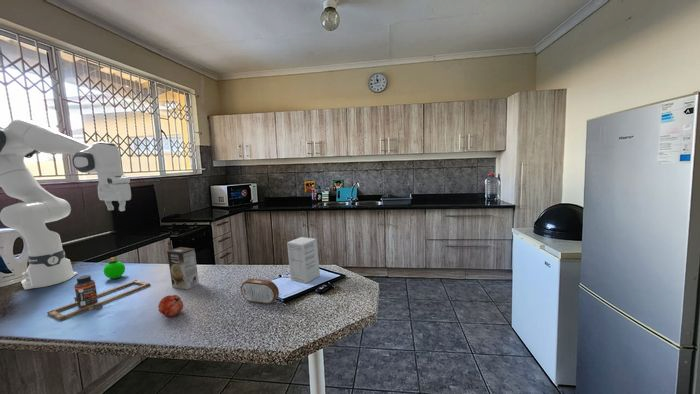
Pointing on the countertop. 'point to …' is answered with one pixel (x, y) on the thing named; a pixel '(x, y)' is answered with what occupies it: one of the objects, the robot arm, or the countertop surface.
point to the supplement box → (303, 259)
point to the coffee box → (183, 267)
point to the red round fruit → (170, 305)
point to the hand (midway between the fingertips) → (116, 210)
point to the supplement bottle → (85, 291)
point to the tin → (259, 291)
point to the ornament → (114, 269)
